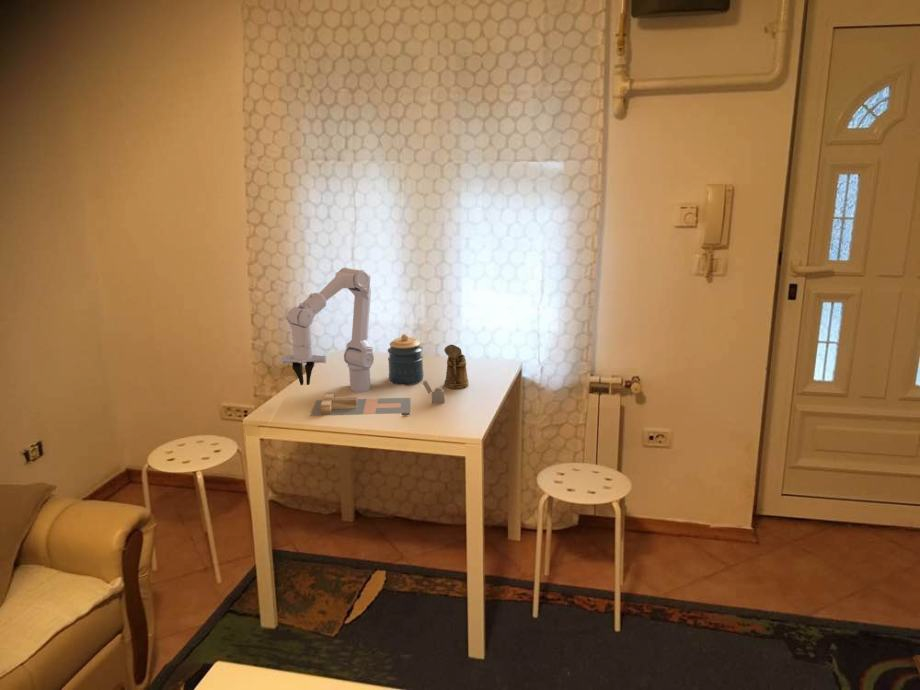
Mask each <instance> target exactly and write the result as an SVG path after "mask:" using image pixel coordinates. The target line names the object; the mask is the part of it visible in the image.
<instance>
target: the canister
mask: <svg viewBox="0 0 920 690" xmlns="http://www.w3.org/2000/svg"><path fill="white" fill-rule="evenodd" d="M389 346H390V347H388V349H387V353H388V356H389V357H388V358H387V360H388V379H389V382H390V383H392V384H395V385H405V386H408V385H415V384H419V383H421V382H423V380H424V375H425V374H424V368H423V367H424V361H423V360H424V356H423V355H422V352H423V350H424V349H423V347H422V346H421V341H419V340H417V339H416V338H414V337H409V335H408V334H407V333H403V334H402V335H401V336H400V337H397V338H395V339H393V340H392V341H390V343H389Z"/></svg>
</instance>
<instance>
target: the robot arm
mask: <svg viewBox="0 0 920 690" xmlns="http://www.w3.org/2000/svg"><path fill="white" fill-rule="evenodd" d="M343 289H348V290H349V291H350V292H351V293H352V295H354V302H353V316H352V317H353V318H352V331H351V340H350V341H348V342H347V343H346V346H345V347H346V348H345V350H344V352H343V360H344V363H345V364H346V365H347V367H348V371H349V387H350V391H351V392H356V393H363V392H367V391H371V387H372V386H374V384H373V383H371V371H370V370H371V369H370V368H371V367H372V366H373V363H374V360H375V359H374V358H375V355H374V352H373V350H374V349H373V346H372V345H371V344H370V342H369V341H368V337H369V336H368V335H369V323H370V310H371V308H370V306H371V296H372V295H371V294H372V289H371V275H370V274H369V273H368V272H367V271H366V270H364V269H354V268H353V269H352V268H348V267H342V268H341V269H339V270H338V271H337V272H336V273H335V277H333V278H332V279H331V280H330V282H328V284H327V285H325V286H324V287H323V288H322V289H321V290H320V292H312V293H309V295H308V297H307V298H306V299H305V300H304V301H303V302H301V303H299V305H298V306H294V307H292V308H291V309H289V311H288V313H287V316H286V321H287V323H288V324H289V326H290V330H291V338H292V349H293V355H289V356H281V357H280V358H279V364H280V365H285V364H286V365H287V364H292V366H291V367H292V369H293V371H294V372H295V373H294V374H296V377H297V378H298V380H299V385H300V386H303V385H304V376H303V364H305V365H304V368H305V375H306V379H305V380H306V385H307V386H309V385H310V384H311V376H312V372H313V369H314V366H315V363H316V364H317V363H318V364H319V363H321V364H326V363H327V356H326V355H316V354H315V355H313V352H312V342H311V341H312V340H311V338H312V337H311V325H312V323H313V322H314V321H313V320H314V318H315V317H316V315H317V314H319V313H320V312H321V310H323V309H325V307H326V306H327V302H328V300H329V299H331V298H332V297H334V296H335V295H336V294H337V293H339V292H340V291H342V290H343Z"/></svg>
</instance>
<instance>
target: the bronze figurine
mask: <svg viewBox="0 0 920 690" xmlns="http://www.w3.org/2000/svg"><path fill="white" fill-rule="evenodd" d="M444 353H445V355H446V356H448V357H447V359H446V366H447V367H446V374H445V380H444V387H445V388H447V389H451V390H460V389H462V388H463V389H466V388H468V387H469V379H468V372H467V366H466V365H467V360H466V358H465V357H466V356H465V354H462V353H463V352H462V349H461V348H460V347H459V346H457V345H454V344H449V345H446V347H445V348H444Z"/></svg>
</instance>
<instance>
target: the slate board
mask: <svg viewBox="0 0 920 690" xmlns="http://www.w3.org/2000/svg"><path fill="white" fill-rule="evenodd" d="M322 401H323V399H318V400H317V399H316V401H315V403H314V405H313V408H312V410H311V411H310V412H311V413H310V414H309V417H315V416H316V417H317V416H320V417H321V416H349V415H350V416H353V415H382V414H383V415H385V414H388V415H389V414H401V415H409V416H410V413H411V397H390V398H389V397H385V398H357V404H358V405H357V408H346V409H332V411H331V414H321V403H322Z"/></svg>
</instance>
